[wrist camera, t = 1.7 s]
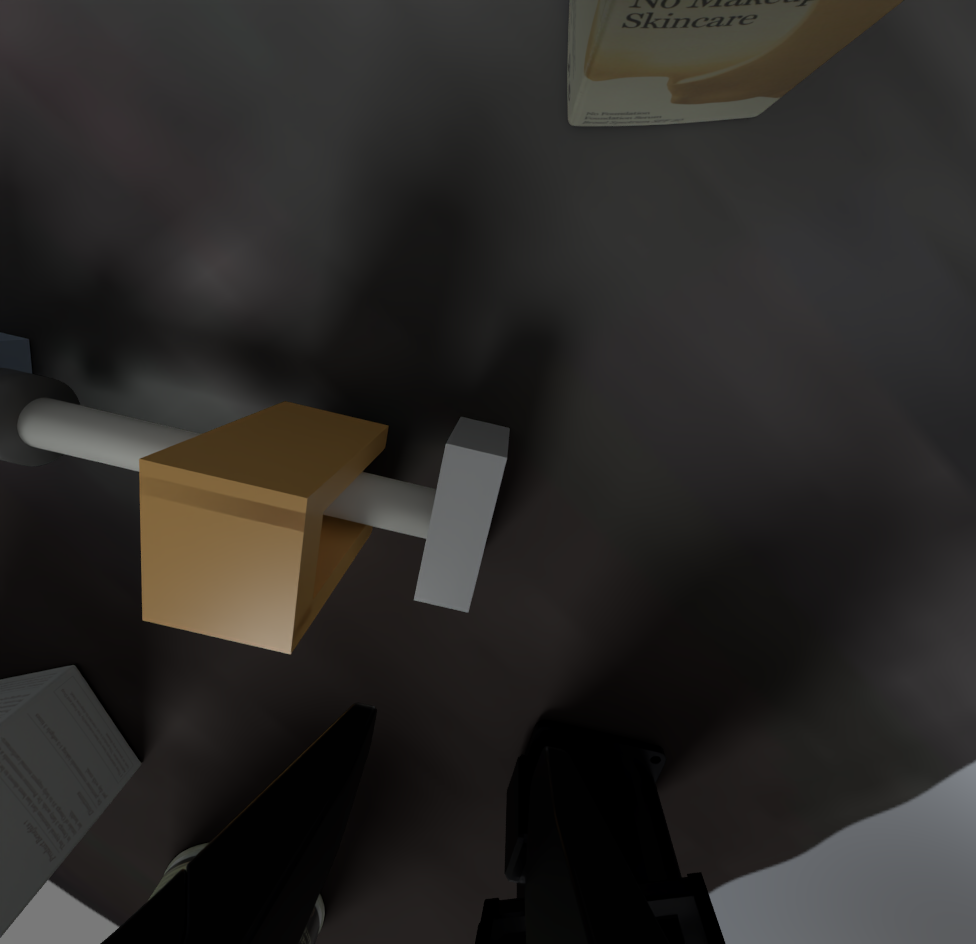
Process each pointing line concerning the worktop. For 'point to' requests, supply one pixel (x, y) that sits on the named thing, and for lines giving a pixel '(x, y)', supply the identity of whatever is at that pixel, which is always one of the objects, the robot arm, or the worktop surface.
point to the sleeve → (252, 523)
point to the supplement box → (51, 777)
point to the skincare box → (700, 55)
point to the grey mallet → (367, 500)
